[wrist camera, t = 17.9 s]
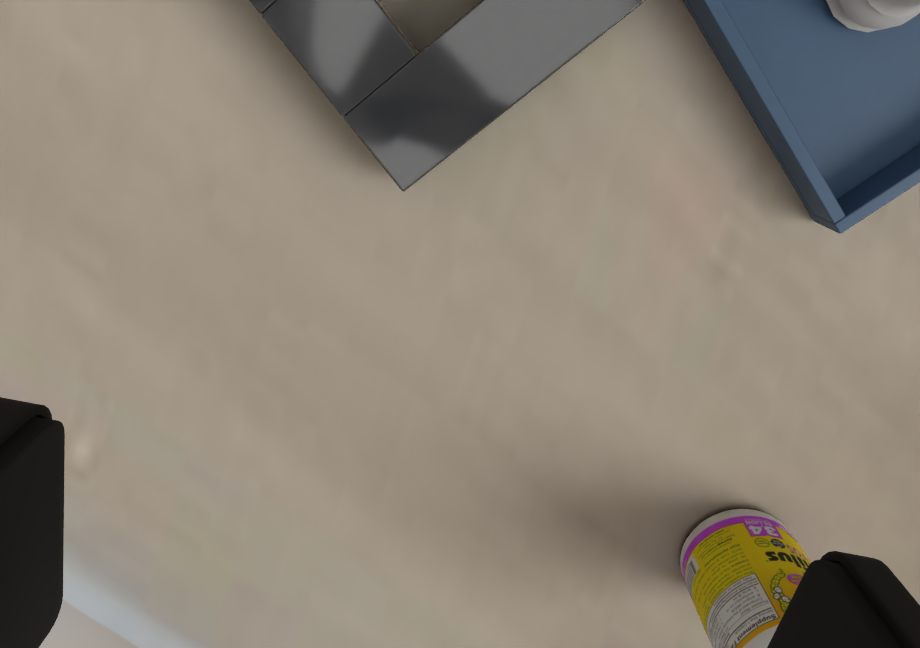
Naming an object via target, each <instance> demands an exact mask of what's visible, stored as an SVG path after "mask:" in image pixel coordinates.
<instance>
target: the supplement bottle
mask: <svg viewBox="0 0 920 648" xmlns="http://www.w3.org/2000/svg"><path fill="white" fill-rule="evenodd" d="M810 563H811V562H810V560H809V559H808V557H807V556H806V554H805V553H804V552H803V550H802V549H801V547H800V546H799V544H798V543H797V541H796V540H795V538H794V537H793V536H792V534H791V533H790V532H789V530H788V529H787V528H786V527H785V526H784V525H783V524H782V523H781V522H780V521H779V520H777V519H776V518H774V517H773V516H771V515H769V514H766V513H764V512H761V511H757V510H751V509H734V510H728V511H724V512H721V513H718V514H716V515H713V516H711V517H709V518H707V519H706V520H704V521H703V522H701V523H700V524H699V525H698V526H697V527H696V528H695V529H694V530H693V531H692V532H691V534H690V535H689V536H688V538H687V539H686V541H685V543H684V545H683V548H682V551H681V557H680V566H681V572H682V575H683V578H684V581H685V583H686V586H687V588H688V591H689V593H690V596H691V598H692V600H693V603H694V605H695V607H696V610H697V612H698V614H699V616H700V619H701V621H702V624H703V626H704V628H705V631H706V633H707V635H708V638H709V640H710V642H711V645H712V647H713V648H767V647H768V645H769V643H770V641H771V639H772V637H773V635H774V633H775V631H776V629H777V627H778V625H779V623H780V621H781V619H782V617H783V615H784V613H785V611H786V609H787V607H788V605H789V603H790V601H791V599H792V597H793V595H794V593H795V591H796V589H797V587H798V585H799V583H800V581H801V579H802V577H803V575H804V573H805V571H806V569H807V568H808V566H809V565H810Z"/></svg>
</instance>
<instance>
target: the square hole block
mask: <svg viewBox="0 0 920 648" xmlns="http://www.w3.org/2000/svg"><path fill="white" fill-rule="evenodd" d="M249 1H250V2H251V3H252V5H253V6H254V7H255V8H256V9H257V11H258V12H259V13H260V14H262V17H263V18H264V19H265V21H266V22H267V23H268V24H269V26H270V27H271V28H272V29H273V31H274V32H275V33H276V34H277V36H278V37H279V38H280V39H281V41H282V42H283V43H284V44H285V46H286V47H287V48H288V49H289V51H290V52H291V53H292V54H293V56H294V57H295V58H296V59H297V61H298V62H299V63H300V64H301V66H302V67H303V68H304V69H305V71H306V72H307V73H308V74H309V75H310V77H311V78H312V79H313V80H314V82H315V83H316V84H317V85H318V87H319V88H320V89H321V90H322V92H323V93H324V94H325V95H326V97H327V98H328V99H329V100H330V102H331V103H332V104H333V105H334V107H335V108H336V109H337V110H338V112H339V113H340V114H341V115H342V116H344V119H345V120H346V122H347V123H348V124H349V125H350V127H351V128H352V129H353V130H354V132H355V133H356V134H357V135H358V137H359V138H360V139H361V140H362V142H363V143H364V144H365V145H366V147H367V148H368V149H369V150H370V151H371V153H372V154H373V155H374V156H375V158H376V159H377V160H378V161H379V163H380V164H381V165H382V166H383V168H384V169H385V170H386V171H387V173H388V174H389V175H390V176H391V178H392V179H393V180H394V181H395V183H396V184H397V185H398V186H399V188H400V189H401V190H402V191H405V190H407V189H408V188H409V187H410V186H412V185H413V184H414V183H415V182H417V181H418V180H419V179H420V178H422V177H423V176H424V175H426V174H427V173H428V172H429V171H431V170H432V169H433V168H434V167H436V166H437V165H438V164H439V163H441V162H442V161H443V160H445V159H446V158H447V157H448V156H450V155H451V154H452V153H453V152H455V151H456V150H457V149H458V148H460V147H461V146H462V145H464V144H465V143H466V142H467V141H469V140H470V139H471V138H472V137H474V136H475V135H476V134H477V133H479V132H480V131H481V130H482V129H484V128H485V127H486V126H488V125H489V124H490V123H491V122H493V121H494V120H495V119H496V118H498V117H499V116H500V115H501V114H503V113H504V112H505V111H507V110H508V109H509V108H510V107H512V106H513V105H514V104H515V103H517V102H518V101H519V100H520V99H522V98H523V97H524V96H526V95H527V94H528V93H529V92H531V91H532V90H533V89H534V88H536V87H537V86H538V85H539V84H541V83H542V82H543V81H545V80H546V79H547V78H548V77H550V76H551V75H552V74H553V73H555V72H556V71H557V70H558V69H560V68H561V67H562V66H564V65H565V64H566V63H567V62H569V61H570V60H571V59H572V58H574V57H575V56H576V55H577V54H579V53H580V52H581V51H582V50H584V49H585V48H586V47H588V46H589V45H590V44H591V43H593V42H594V41H595V40H596V39H598V38H599V37H600V36H601V35H603V34H604V33H605V32H607V31H608V30H609V29H610V28H612V27H613V26H614V25H615V24H617V23H618V22H619V21H620V20H622V19H623V18H624V17H626V16H627V15H628V14H629V13H631V12H632V11H633V10H634V9H636V8H637V7H638V6H639V5H641V4H642V3H643V2H645V1H646V0H482V1H480V2H479V3H478V4H477V5H476V6H474V7H473V8H472V9H471V10H470V11H468V12H467V13H466V14H465V15H464V16H463V17H461V18H460V19H459V20H458V21H457V22H455V23H454V24H453V25H452V26H451V27H449V28H448V29H447V30H446V31H445V32H444V33H442V34H441V35H440V36H439V37H438V38H436V39H435V40H434V41H433V42H432V43H431V44H429V45H428V46H427V47H426V48H425V49H423V50H422V51H421V52H420V53H418V51H417V50H416V49H415V47H414V46H413V44H412V43H411V42H410V40H409V39H408V38H407V36H406V35H405V34H404V32H403V31H402V30H401V28H400V27H399V26H398V24H397V23H396V21H395V20H394V19H393V17H392V16H391V15H390V13H389V12H388V11H387V9H386V8H385V7H384V5H383V4H382V3H381V1H380V0H249Z"/></svg>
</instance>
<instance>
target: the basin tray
mask: <svg viewBox="0 0 920 648" xmlns="http://www.w3.org/2000/svg"><path fill="white" fill-rule="evenodd" d="M683 1H684V3H685V4H686V6H687V8H688V9H689V11H690V13H691V14H692V16H693V18H694V20H695V21H696V23H697V25H698V26H699V28H700V30H701V31H702V33H703V35H704V36H705V38H706V40H707V41H708V43H709V45H710V47H711V48H712V50H713V52H714V53H715V55H716V57H717V58H718V60H719V62H720V63H721V65H722V67H723V68H724V70H725V72H726V73H727V75H728V77H729V79H730V80H731V82H732V84H733V85H734V87H735V89H736V90H737V92H738V94H739V95H740V97H741V99H742V100H743V102H744V104H745V106H746V107H747V109H748V111H749V112H750V114H751V116H752V117H753V119H754V121H755V122H756V124H757V126H758V127H759V129H760V131H761V132H762V134H763V136H764V138H765V139H766V141H767V143H768V144H769V146H770V148H771V149H772V151H773V153H774V154H775V156H776V158H777V159H778V161H779V163H780V165H781V166H782V168H783V170H784V171H785V173H786V175H787V176H788V178H789V180H790V181H791V183H792V185H793V186H794V188H795V190H796V191H797V193H798V195H799V197H800V198H801V200H802V202H803V203H804V205H805V207H806V208H807V210H808V212H809V213H810V215H811V217H812V218H813V220H814V221H815V222H817V223H819V224H821V225H823V226H825V227H827V228H829V229H831V230H833V231H835V232H838V233H842V232H844V231H845V230H847V229H848V228H850V227H852V226H853V225H855V224H856V223H858V222H859V221H861V220H862V219H864V218H865V217H867V216H868V215H870V214H871V213H873V212H874V211H876V210H878V209H879V208H881V207H882V206H884V205H885V204H887V203H888V202H890V201H891V200H893V199H894V198H896V197H897V196H899V195H900V194H902V193H904V192H905V191H907V190H908V189H910V188H911V187H913V186H914V185H916V184H917V183H919V182H920V13H919V14H918V15H916V16H915V17H913V18H912V19H910V20H909V21H907V22H906V23H904V24H902V25H900V26H896V27H891V28H887V29H882V30H876V31H872V32H863V31H859V30H854V29H849V28H847V27H846V26H845V25H844V24H842V23H841V22H840V21H839V20H837V19H836V18H835V17H834V16H833V14H832V12H831V10H830V7H829V5H828V3H827V1H826V0H683Z"/></svg>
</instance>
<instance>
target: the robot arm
mask: <svg viewBox="0 0 920 648" xmlns="http://www.w3.org/2000/svg"><path fill="white" fill-rule="evenodd" d="M64 437H65V434H64V427H63V424H62V423H61V422H59V421H56V420H52V415H51V413H50V410H49V408H47V407H46V406H44V405H39V404H33V403H28V402H22V401H17V400H12V399H6V398H1V397H0V648H38V647H39V646H40V645H41V643H42V642H43V640H44V639H45V638H46V636H47V635H48V633H49V632H50V630H51V628H52V627H53V625H54V623H55V621H56V619H57V617H58V614H59V611H60V608H61V604H62V597H63V528H64ZM767 648H920V605H919V604H918V603H917V602H916V600H915V599H914V598H913V597H912V596H911V594H910V593H909V592H908V591H907V590H906V588H905V587H904V586H903V585H902V584H901V582H900V581H899V580H898V579H897V577H896V576H895V575H894V574H893V573H892V571H891V570H890V569H889V568H888V567H887V566H886V565H885V564H884V563H883V562H882V561H880V560H877V559H874V558H869V557H864V556H859V555H853V554H848V553H842V552H837V551H833V552H828V553H826V554H825V555H824V556H822V558H821V559H820V560H815V561H813V562H812V563H810V565H809V566H808V568H807V569H806V571H805V573H804V575H803V577H802V579H801V581H800V583H799V585H798V587H797V589H796V591H795V593H794V595H793V597H792V599H791V601H790V603H789V605H788V607H787V609H786V611H785V613H784V615H783V617H782V619H781V621H780V623H779V625H778V627H777V629H776V631H775V633H774V635H773V637H772V639H771V641H770V643H769V645H768V647H767Z"/></svg>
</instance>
